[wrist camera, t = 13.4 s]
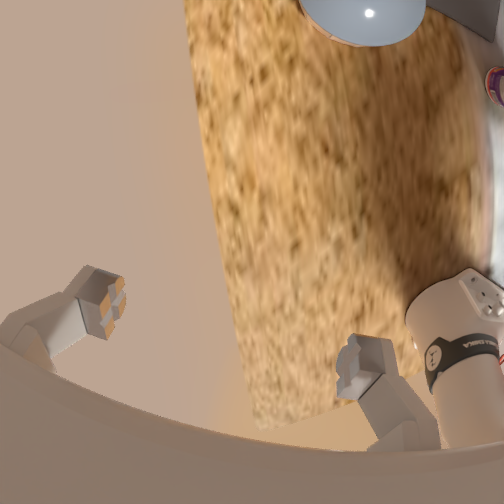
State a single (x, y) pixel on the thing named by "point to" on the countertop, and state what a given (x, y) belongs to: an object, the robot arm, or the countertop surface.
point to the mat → (471, 14)
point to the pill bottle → (495, 85)
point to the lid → (367, 19)
